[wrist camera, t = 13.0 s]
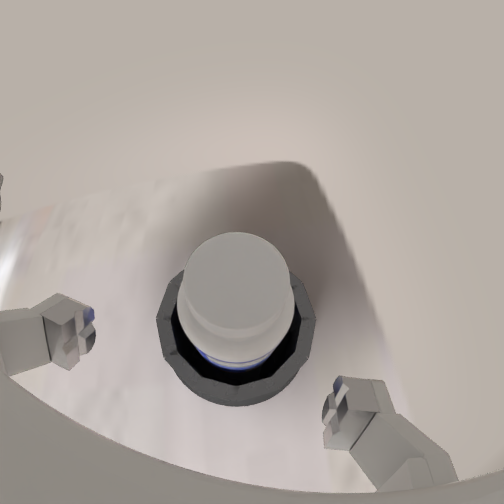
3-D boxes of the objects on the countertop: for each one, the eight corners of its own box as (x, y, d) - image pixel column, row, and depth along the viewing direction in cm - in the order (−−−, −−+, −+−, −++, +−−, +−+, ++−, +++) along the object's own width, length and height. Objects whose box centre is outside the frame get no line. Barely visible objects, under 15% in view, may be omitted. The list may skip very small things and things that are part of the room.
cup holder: (152, 382, 18) (127, 375, 14) (192, 264, 23) (182, 228, 18) (287, 419, 17) (303, 424, 13) (313, 293, 22) (332, 264, 18)
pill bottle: (196, 298, 20) (168, 215, 12) (273, 296, 21) (298, 213, 12) (195, 375, 18) (156, 348, 9) (278, 373, 18) (316, 345, 9)
